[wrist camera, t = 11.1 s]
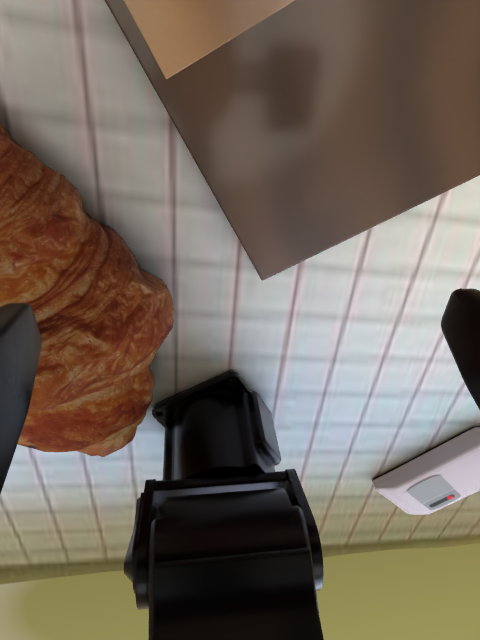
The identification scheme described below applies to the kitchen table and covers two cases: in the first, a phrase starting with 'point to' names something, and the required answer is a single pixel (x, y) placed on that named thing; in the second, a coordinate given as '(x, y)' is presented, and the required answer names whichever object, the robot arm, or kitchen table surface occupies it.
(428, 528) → the kitchen table surface
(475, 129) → the board
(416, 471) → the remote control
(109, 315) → the pastry
